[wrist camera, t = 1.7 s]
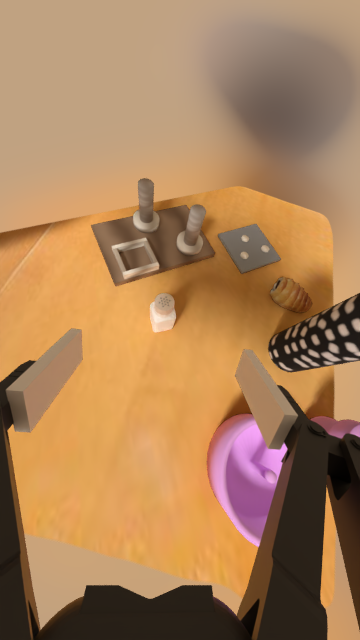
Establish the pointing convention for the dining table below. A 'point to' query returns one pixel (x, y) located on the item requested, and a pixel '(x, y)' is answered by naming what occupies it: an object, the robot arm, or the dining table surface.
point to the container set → (252, 469)
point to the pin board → (152, 239)
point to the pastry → (290, 295)
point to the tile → (248, 248)
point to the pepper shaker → (162, 313)
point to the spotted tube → (320, 339)
